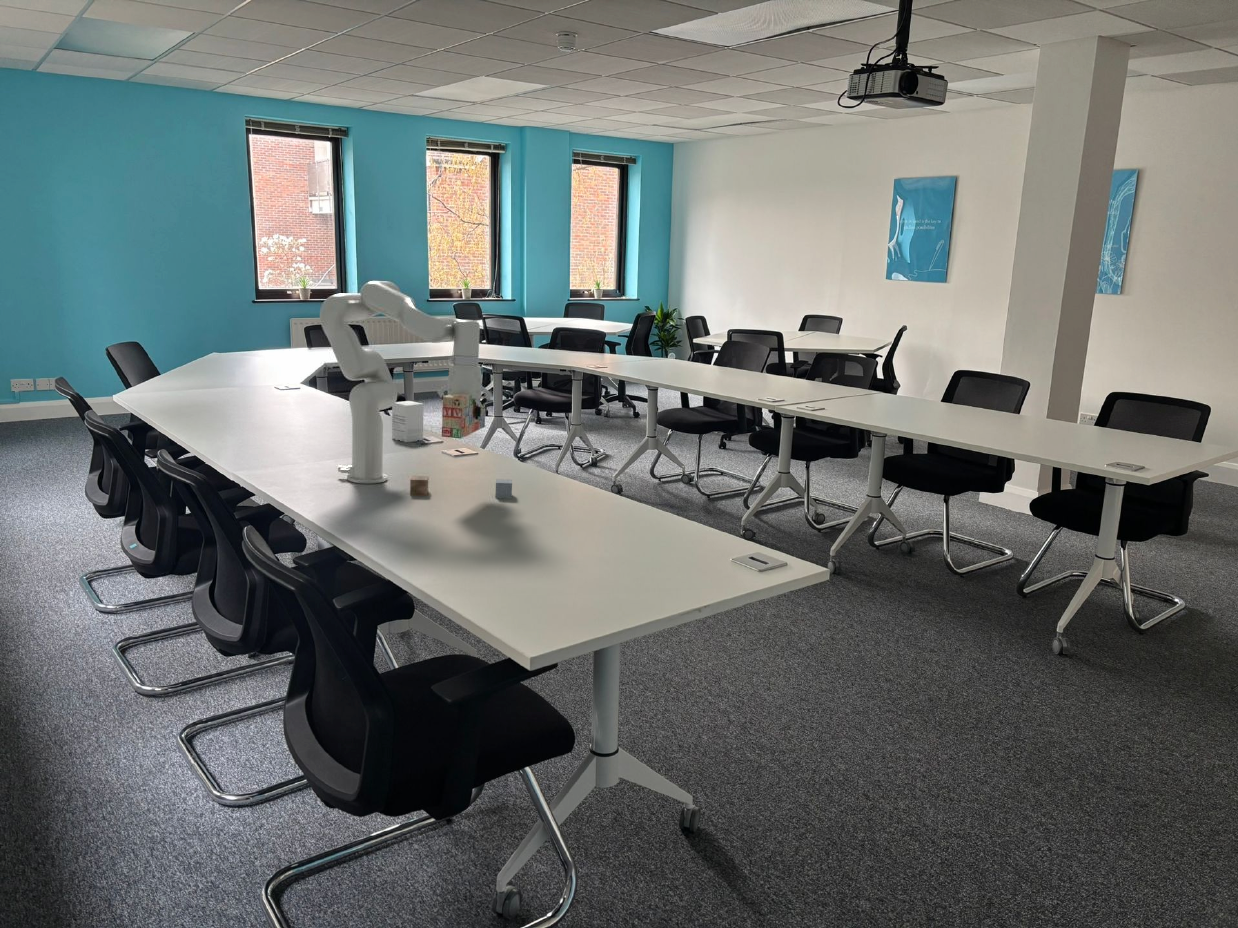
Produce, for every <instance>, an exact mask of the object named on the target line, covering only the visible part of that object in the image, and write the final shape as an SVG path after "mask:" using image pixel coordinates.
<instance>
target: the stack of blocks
mask: <svg viewBox="0 0 1238 928" xmlns="http://www.w3.org/2000/svg"><path fill="white" fill-rule="evenodd" d="M482 399H483V398H480V400H482ZM476 406H477V403H476V401H475V399H472V395H464V394H449V395H448V394H447V395H445V396H443V400H442V411H441V414H442V415H441V418H442V419H441V421H442V422H441V437H442V438H443V437H444V438H450V439H451V438H453V439H463V438H465V437H467V436H470V435H472V434H474V433H475V432H477V431H480V430H481V429H483V428H485V427H486V426H485V424H486V423H485V422H486V402H485V403H484V404H483V405H482V406H481V417H478V420H476Z"/></svg>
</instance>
